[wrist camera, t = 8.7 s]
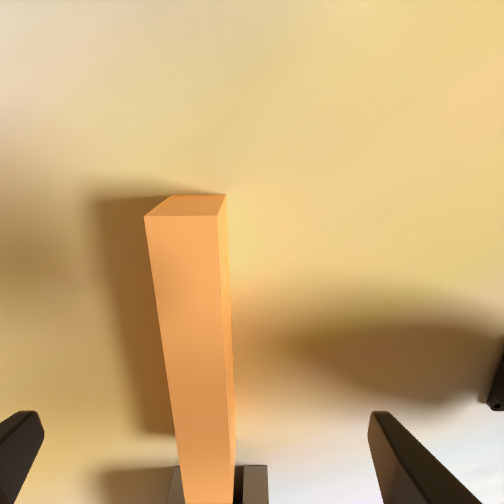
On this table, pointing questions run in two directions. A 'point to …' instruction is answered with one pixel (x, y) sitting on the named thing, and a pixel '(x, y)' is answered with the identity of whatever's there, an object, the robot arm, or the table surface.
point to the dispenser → (252, 486)
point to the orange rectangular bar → (196, 338)
